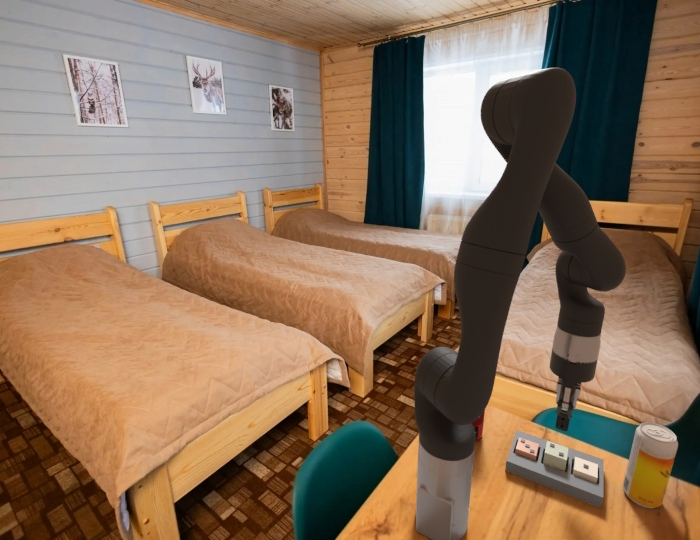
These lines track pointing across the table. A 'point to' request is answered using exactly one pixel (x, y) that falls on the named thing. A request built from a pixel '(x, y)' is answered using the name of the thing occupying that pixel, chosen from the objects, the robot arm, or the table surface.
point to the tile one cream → (585, 469)
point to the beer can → (650, 464)
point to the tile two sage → (555, 456)
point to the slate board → (557, 471)
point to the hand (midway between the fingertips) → (561, 428)
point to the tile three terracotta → (527, 449)
